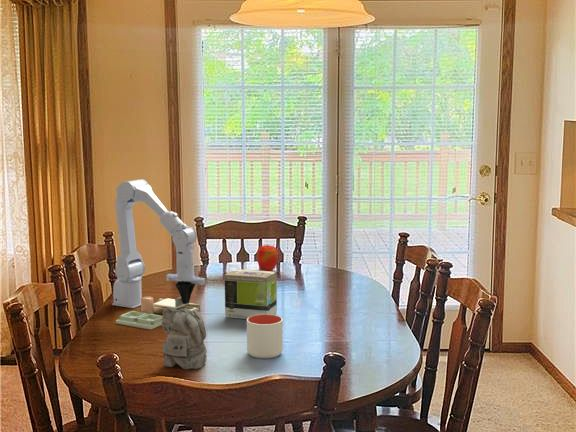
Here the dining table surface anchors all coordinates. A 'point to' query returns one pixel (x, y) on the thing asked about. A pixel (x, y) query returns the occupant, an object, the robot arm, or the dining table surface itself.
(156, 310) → the plate
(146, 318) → the socket board
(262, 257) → the apple
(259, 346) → the cup
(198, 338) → the figurine
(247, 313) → the tea box
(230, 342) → the dining table surface
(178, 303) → the lid
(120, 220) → the robot arm
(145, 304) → the peg
